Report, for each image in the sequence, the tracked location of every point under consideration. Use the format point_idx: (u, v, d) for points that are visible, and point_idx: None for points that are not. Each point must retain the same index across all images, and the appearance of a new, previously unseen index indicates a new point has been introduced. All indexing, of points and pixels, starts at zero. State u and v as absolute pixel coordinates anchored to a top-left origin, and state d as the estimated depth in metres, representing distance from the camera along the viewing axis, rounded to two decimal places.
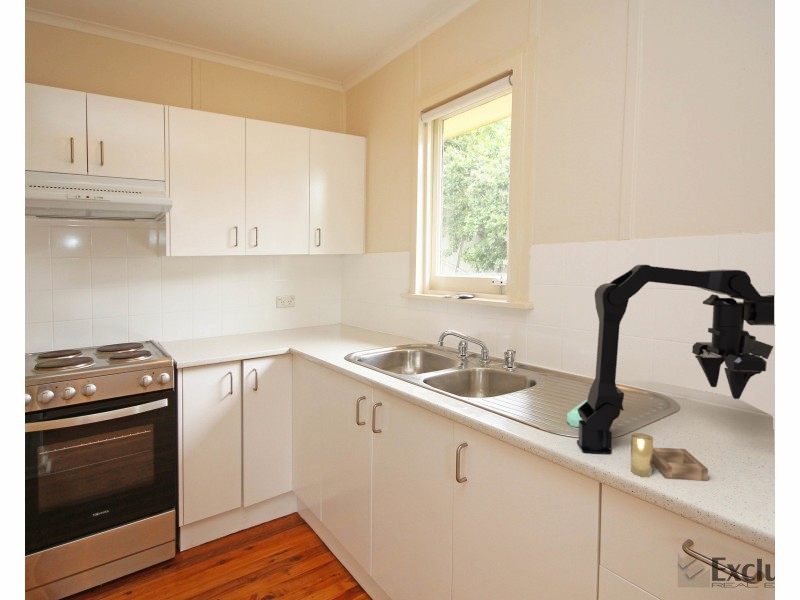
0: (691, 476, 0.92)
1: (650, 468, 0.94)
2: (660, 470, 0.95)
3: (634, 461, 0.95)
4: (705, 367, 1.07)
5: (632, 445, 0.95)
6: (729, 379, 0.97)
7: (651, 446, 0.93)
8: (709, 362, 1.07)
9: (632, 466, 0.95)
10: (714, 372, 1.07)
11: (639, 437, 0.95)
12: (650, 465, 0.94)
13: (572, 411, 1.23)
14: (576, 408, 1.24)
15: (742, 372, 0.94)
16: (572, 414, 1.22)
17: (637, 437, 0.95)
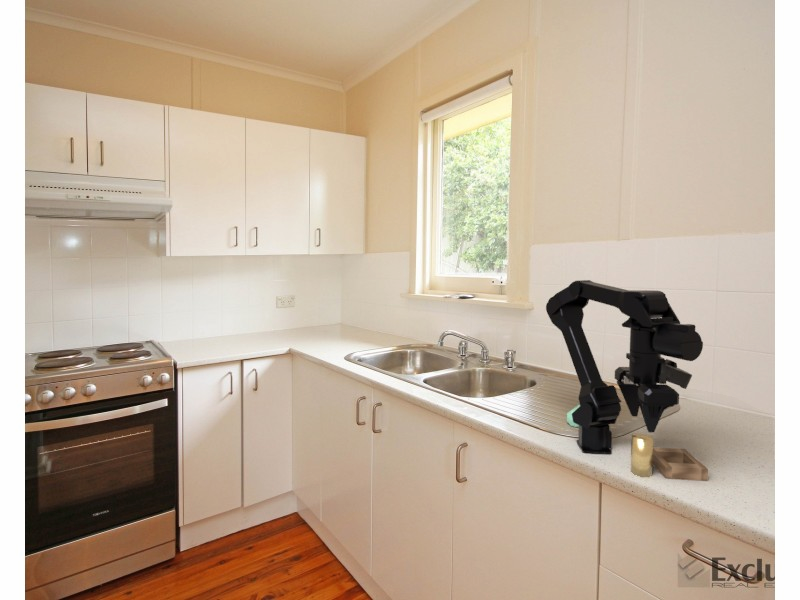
0: (691, 476, 0.92)
1: (650, 468, 0.94)
2: (660, 470, 0.95)
3: (634, 461, 0.95)
4: (625, 395, 0.99)
5: (632, 445, 0.95)
6: (642, 411, 0.89)
7: (651, 446, 0.93)
8: (630, 389, 0.99)
9: (632, 466, 0.95)
10: (635, 400, 0.99)
11: (639, 437, 0.95)
12: (650, 465, 0.94)
13: (572, 411, 1.23)
14: (576, 408, 1.24)
15: (654, 405, 0.86)
16: None
17: (637, 437, 0.95)
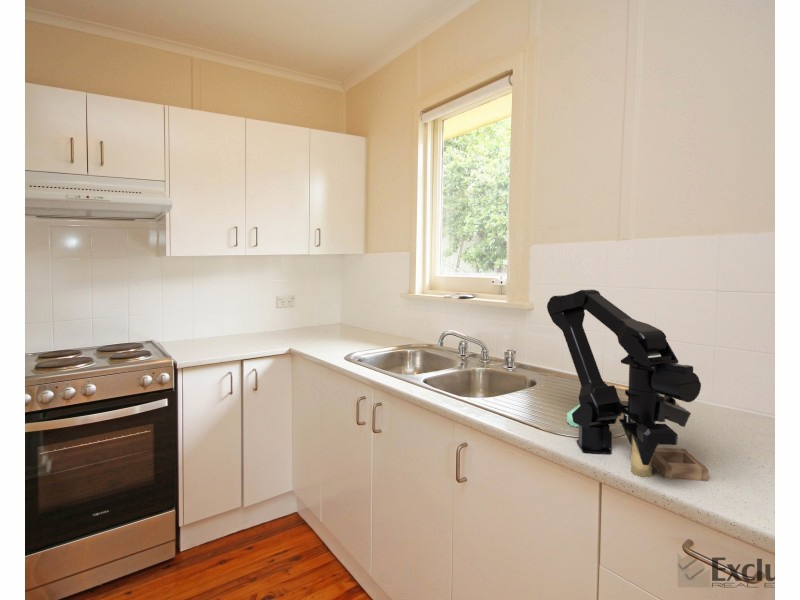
0: (691, 476, 0.92)
1: (650, 468, 0.94)
2: (660, 470, 0.95)
3: (634, 461, 0.95)
4: (628, 434, 0.98)
5: (632, 445, 0.95)
6: (637, 445, 0.92)
7: None
8: (633, 428, 0.98)
9: (632, 466, 0.95)
10: None
11: None
12: (650, 465, 0.94)
13: (572, 411, 1.23)
14: (576, 408, 1.24)
15: None
16: None
17: None
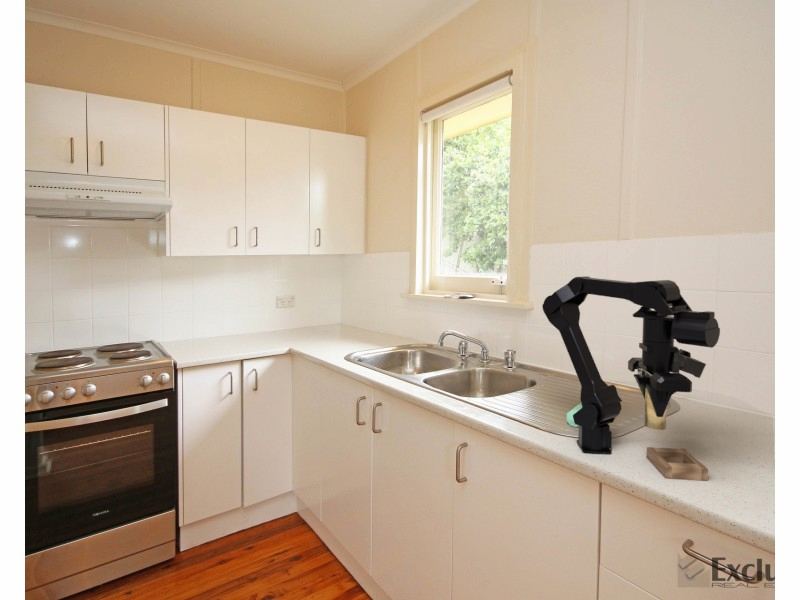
0: (691, 476, 0.92)
1: (664, 420, 0.93)
2: (660, 470, 0.95)
3: (648, 414, 0.94)
4: (642, 388, 0.97)
5: (646, 397, 0.95)
6: (650, 396, 0.92)
7: None
8: (647, 382, 0.97)
9: (646, 419, 0.95)
10: None
11: None
12: (664, 417, 0.93)
13: (572, 411, 1.23)
14: (576, 408, 1.24)
15: None
16: (572, 414, 1.22)
17: None
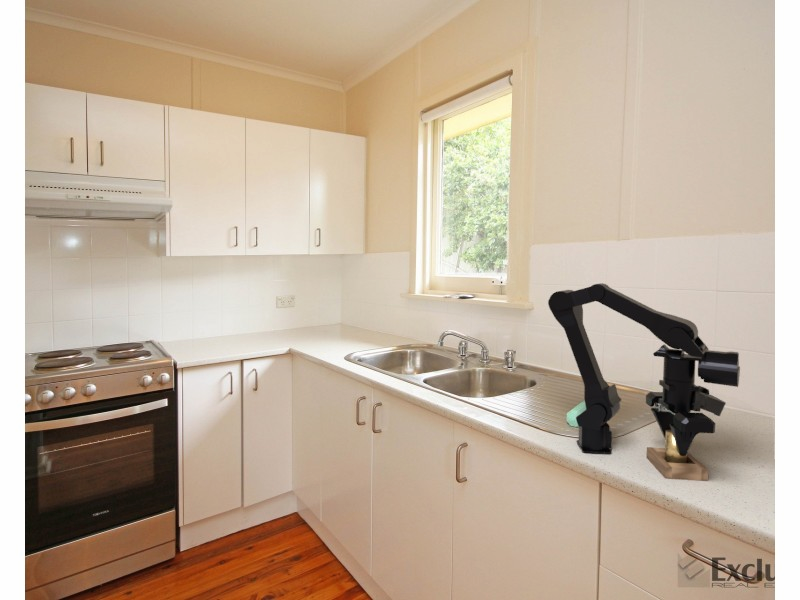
0: (691, 476, 0.92)
1: None
2: (660, 470, 0.95)
3: (669, 457, 0.96)
4: (660, 422, 1.00)
5: (666, 441, 0.97)
6: (674, 436, 0.93)
7: None
8: (665, 417, 1.00)
9: None
10: (670, 428, 1.00)
11: None
12: (685, 461, 0.95)
13: (572, 411, 1.23)
14: (575, 408, 1.24)
15: None
16: (572, 414, 1.22)
17: None
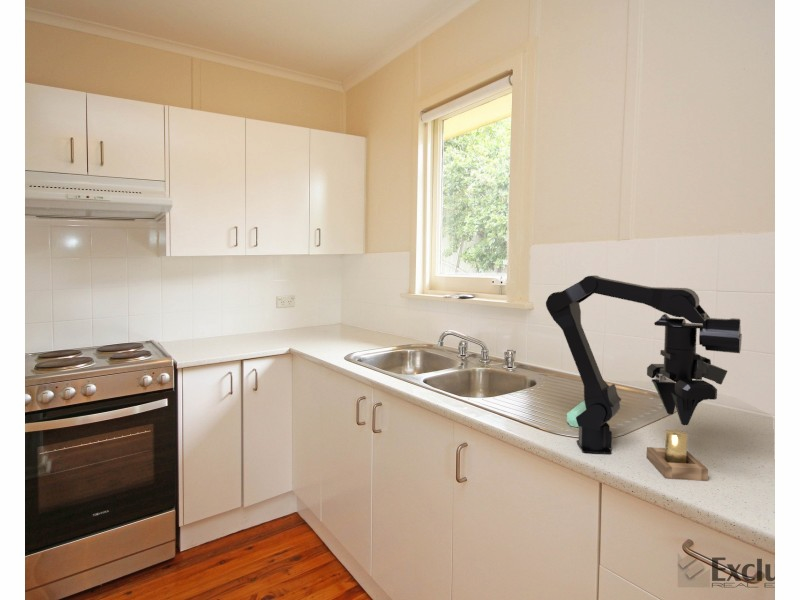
0: (691, 476, 0.92)
1: None
2: (660, 470, 0.95)
3: (669, 457, 0.96)
4: (661, 393, 1.00)
5: (666, 441, 0.97)
6: (676, 405, 0.92)
7: (685, 442, 0.95)
8: (665, 387, 1.00)
9: None
10: (670, 398, 0.99)
11: (673, 433, 0.96)
12: (684, 460, 0.95)
13: (572, 411, 1.23)
14: (576, 408, 1.24)
15: None
16: (572, 414, 1.22)
17: (671, 433, 0.96)
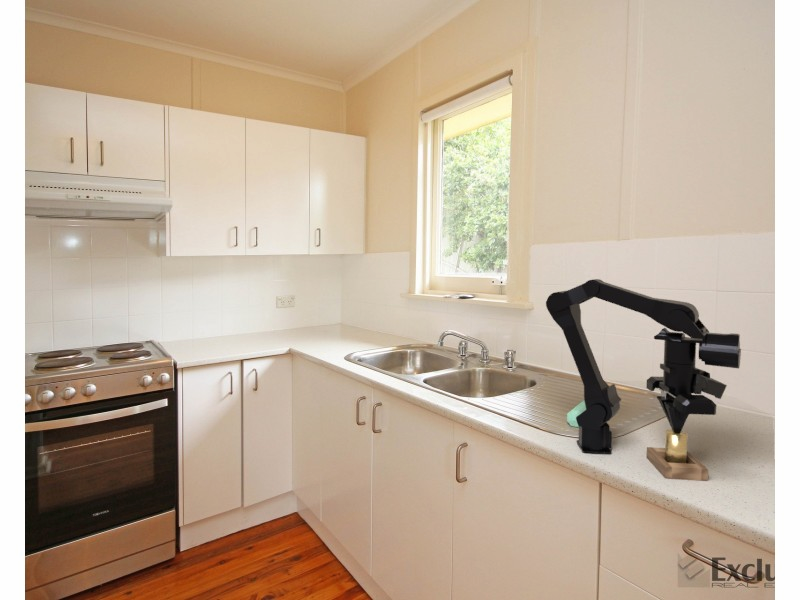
0: (691, 476, 0.92)
1: None
2: (660, 470, 0.95)
3: (669, 457, 0.96)
4: (667, 410, 0.97)
5: (666, 441, 0.97)
6: (669, 414, 0.95)
7: (686, 442, 0.95)
8: None
9: None
10: None
11: (674, 433, 0.96)
12: (685, 461, 0.95)
13: (572, 411, 1.23)
14: (576, 408, 1.24)
15: None
16: (572, 414, 1.22)
17: (672, 433, 0.96)
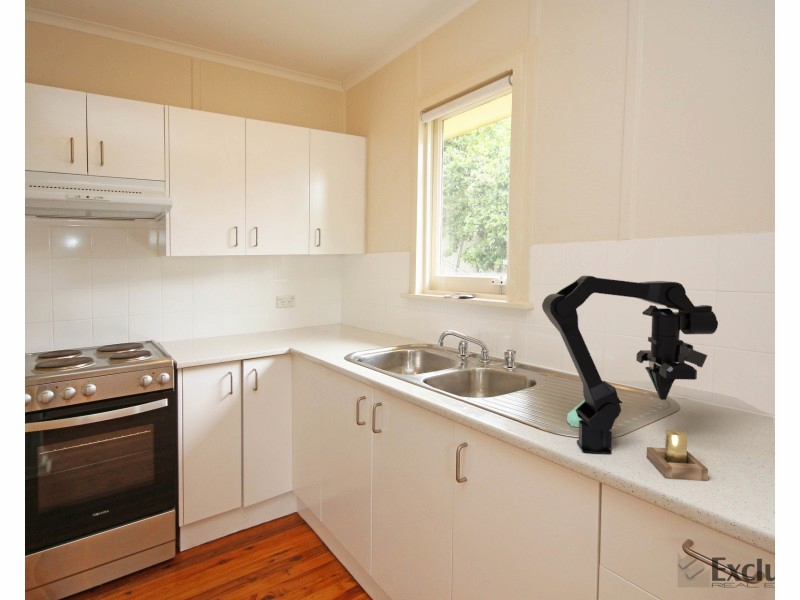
0: (691, 476, 0.92)
1: None
2: (660, 470, 0.95)
3: (669, 457, 0.96)
4: (654, 379, 1.07)
5: (666, 441, 0.97)
6: (656, 381, 1.05)
7: (686, 442, 0.95)
8: None
9: None
10: None
11: (673, 433, 0.96)
12: (685, 461, 0.95)
13: (572, 411, 1.23)
14: (576, 408, 1.24)
15: None
16: (572, 414, 1.22)
17: (672, 433, 0.96)
